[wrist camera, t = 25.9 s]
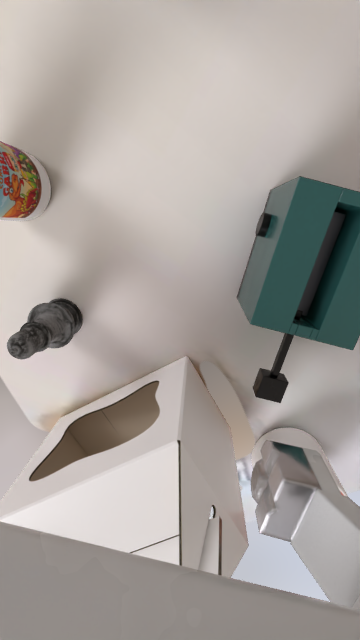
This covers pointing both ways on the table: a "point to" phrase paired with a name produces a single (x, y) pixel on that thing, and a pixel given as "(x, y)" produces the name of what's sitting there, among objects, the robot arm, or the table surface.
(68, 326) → the chess piece
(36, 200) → the milk bottle
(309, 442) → the cup
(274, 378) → the carriage
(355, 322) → the toaster
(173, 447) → the gable box
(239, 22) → the table surface
